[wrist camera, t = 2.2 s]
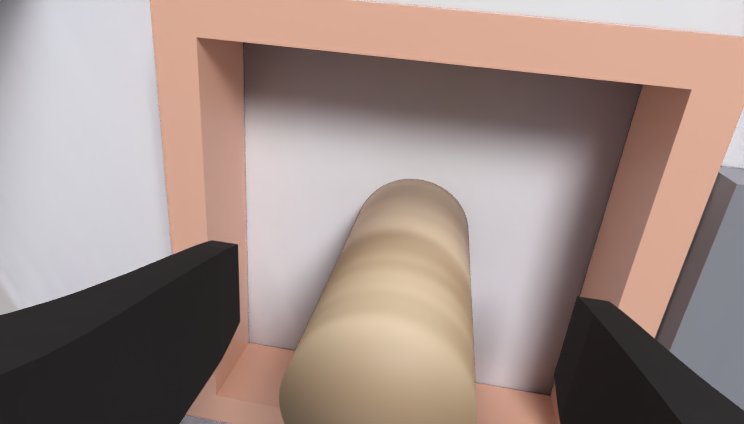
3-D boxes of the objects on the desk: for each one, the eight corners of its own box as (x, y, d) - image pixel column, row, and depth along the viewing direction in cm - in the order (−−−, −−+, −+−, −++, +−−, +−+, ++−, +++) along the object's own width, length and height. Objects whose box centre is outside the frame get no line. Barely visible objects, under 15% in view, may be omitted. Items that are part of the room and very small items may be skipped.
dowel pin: (458, 287, 15) (460, 503, 8) (353, 270, 15) (277, 466, 9) (477, 187, 13) (494, 352, 7) (361, 171, 14) (279, 316, 7)
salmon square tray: (574, 425, 16) (594, 495, 14) (221, 361, 17) (186, 414, 15) (706, 32, 11) (768, 39, 9) (204, -15, 13) (148, -19, 10)
